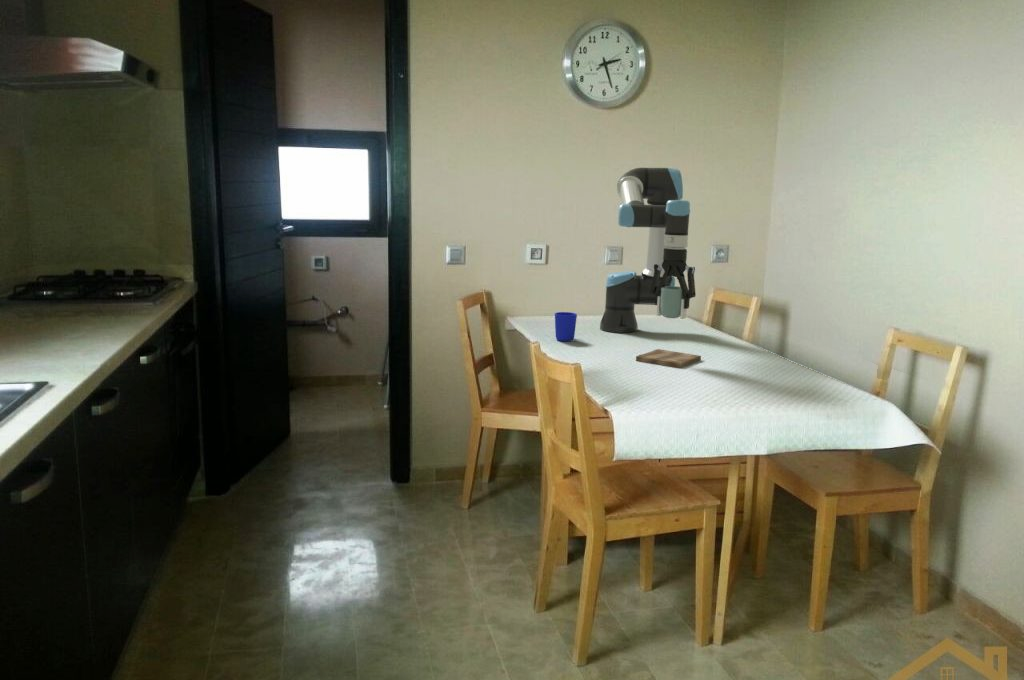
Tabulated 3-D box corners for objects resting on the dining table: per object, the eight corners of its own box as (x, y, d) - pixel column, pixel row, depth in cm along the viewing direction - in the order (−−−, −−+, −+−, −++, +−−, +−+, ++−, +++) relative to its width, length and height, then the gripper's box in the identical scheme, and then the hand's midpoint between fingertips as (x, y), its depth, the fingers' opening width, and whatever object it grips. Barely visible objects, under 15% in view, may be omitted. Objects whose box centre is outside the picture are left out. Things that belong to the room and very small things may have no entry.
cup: (683, 320, 261) (685, 289, 259) (659, 318, 263) (660, 288, 261) (683, 316, 269) (685, 286, 267) (659, 315, 270) (661, 285, 268)
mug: (576, 336, 306) (577, 310, 304) (575, 342, 295) (576, 316, 293) (554, 335, 307) (555, 310, 305) (553, 341, 295) (554, 315, 293)
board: (635, 360, 267) (636, 356, 267) (657, 353, 279) (658, 348, 279) (680, 368, 258) (680, 363, 257) (700, 360, 270) (701, 355, 270)
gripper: (641, 246, 264) (637, 314, 269) (700, 250, 252) (695, 322, 257) (652, 245, 270) (648, 311, 275) (710, 249, 258) (705, 319, 263)
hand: (671, 316), depth 266 cm, fingers closed on cup, 8 cm apart
